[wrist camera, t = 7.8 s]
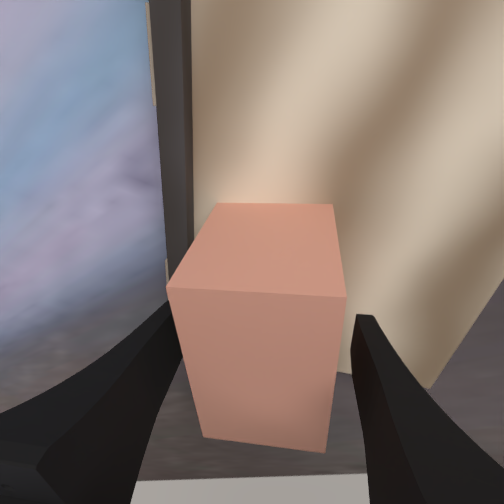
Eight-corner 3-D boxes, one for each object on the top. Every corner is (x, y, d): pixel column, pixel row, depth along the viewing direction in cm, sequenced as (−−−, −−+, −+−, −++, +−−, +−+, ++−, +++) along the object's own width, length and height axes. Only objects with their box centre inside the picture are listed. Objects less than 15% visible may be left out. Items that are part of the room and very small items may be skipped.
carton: (332, 204, 13) (347, 297, 8) (320, 338, 17) (325, 453, 12) (212, 202, 14) (159, 286, 9) (229, 330, 18) (198, 436, 13)
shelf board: (704, -99, 9) (830, -146, 6) (422, 367, 20) (435, 404, 17) (163, -132, 10) (124, -181, 8) (183, 323, 21) (169, 354, 19)
